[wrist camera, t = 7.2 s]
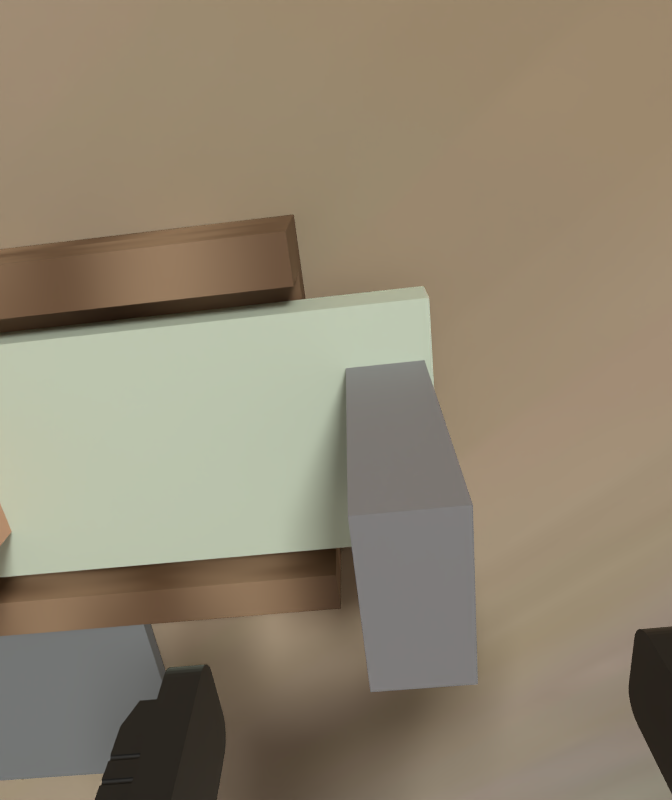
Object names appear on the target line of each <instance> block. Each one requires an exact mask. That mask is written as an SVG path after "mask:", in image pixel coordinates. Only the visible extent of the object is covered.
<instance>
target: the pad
mask: <svg viewBox="0 0 672 800" xmlns="http://www.w3.org/2000/svg"><path fill="white" fill-rule="evenodd" d="M165 672H166V671H165V668H164V665H163V662H162V659H161V656H160V652H159V649H158V646H157V643H156V640H155V637H154V634H153V630H152V627H151V624H143V625H131V626H119V627H107V628H94V629H82V630H70V631H58V632H46V633H33V634H21V635H9V636H0V780H13V779H28V778H42V777H57V776H72V775H86V774H101V773H104V772H105V769H106V766H107V763H108V761H110V754H111V752H112V749H113V746H114V743H115V740H116V737H117V734H118V731H119V729H120V726H121V725H122V723H123V722H124V721H125V719H126V718H127V717H128V715H129V714H130V713H131V711H132V710H133V709H134V708H135V706H136V705H137V704H138V702H139V701H140V700H152V699H157V697H158V694H159V690H160V687H161V684H162V680H163V677H164V674H165Z"/></svg>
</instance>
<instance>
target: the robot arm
mask: <svg viewBox="0 0 672 800" xmlns="http://www.w3.org/2000/svg"><path fill="white" fill-rule="evenodd" d="M629 698H630V703H631V707H632V711H633V714H634V717H635V720H636V722H637V724H638V726H639V728H640V730H641V732H642V734H643V736H644V738H645V741H646V743H647V745H648V747H649V749H650V751H651V753H652V755H653V757H654V759H655V761H656V763H657V765H658V767H659V769H660V771H661V773H662V775H663V777H664V779H665V781H666V783H667V785H668V787H669V789H670V791H671V793H672V627H661V628H649V629H639V630H637V631H636V634H635V638H634V646H633V654H632V663H631V671H630V679H629ZM225 741H226V732H225V721H224V716H223V712H222V709H221V705H220V701H219V698H218V694H217V690H216V687H215V683H214V680H213V676H212V672H211V669H210V667H209V666H208V665H195V666H183V667H171V668H168V669H167V671H166V672H165V674H164V677H163V680H162V684H161V687H160V690H159V694H158V697H157V699H152V700H140V701H139V702H138V704H137V705H136V706H135V708H134V709H133V710H132V711H131V713H130V714H129V715H128V717H127V718H126V719H125V721H124V722H123V723H122V725H121V726H120V729H119V731H118V734H117V737H116V740H115V743H114V746H113V749H112V752H111V754H110V761H108V763H107V766H106V769H105V772H104V775H103V777H102V785H101V786H99V789H98V792H97V795H96V798H95V800H217V794H218V789H219V783H220V777H221V771H222V765H223V759H224V753H225Z"/></svg>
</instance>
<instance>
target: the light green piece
mask: <svg viewBox="0 0 672 800" xmlns="http://www.w3.org/2000/svg"><path fill="white" fill-rule="evenodd" d="M0 504H1V507H2V509H3V511H4V514H5V516H6V519H7V521H8V524H9V526H10V529H11V531H12V532H11V533H10V534H9V536H8V537H7V538H6V539H5V541H4V542H3V543H2V544H1V546H0V577H11V576H22V575H33V574H45V573H56V572H68V571H79V570H91V569H102V568H114V567H125V566H137V565H148V564H159V563H171V562H182V561H194V560H205V559H217V558H228V557H240V556H251V555H262V554H274V553H285V552H297V551H308V550H320V549H331V548H343V547H352V553H353V561H354V569H355V577H356V584H357V592H358V600H359V607H360V615H361V623H362V630H363V638H364V646H365V654H366V661H367V669H368V677H369V684H370V692H379V691H392V690H406V689H419V688H433V687H447V686H460V685H474V684H478V674H477V638H476V603H475V567H474V531H473V504H472V501H471V498H470V495H469V492H468V489H467V486H466V483H465V480H464V477H463V474H462V471H461V468H460V465H459V462H458V459H457V456H456V453H455V450H454V447H453V444H452V441H451V438H450V435H449V432H448V429H447V426H446V423H445V420H444V417H443V414H442V411H441V408H440V405H439V402H438V399H437V396H436V393H435V390H434V380H433V361H432V343H431V324H430V306H429V297H428V294H427V292H426V290H425V288H424V286H419V287H410V288H401V289H392V290H383V291H374V292H365V293H356V294H347V295H338V296H329V297H320V298H311V299H302V300H293V301H284V302H275V303H266V304H256V305H247V306H238V307H229V308H220V309H211V310H202V311H193V312H184V313H175V314H166V315H157V316H148V317H139V318H130V319H121V320H112V321H103V322H94V323H85V324H76V325H67V326H58V327H48V328H39V329H30V330H21V331H12V332H3V333H0Z"/></svg>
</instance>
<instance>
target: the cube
mask: <svg viewBox="0 0 672 800" xmlns="http://www.w3.org/2000/svg"><path fill="white" fill-rule="evenodd" d="M11 532H12V531H11V529H10V526H9V524H8V521H7V519H6V516H5V514H4V511H3V509H2V507H1V504H0V546H1V544H2V543H3V542H4V541H5V539H6V538H7V537H8V536H9V534H10V533H11Z"/></svg>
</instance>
